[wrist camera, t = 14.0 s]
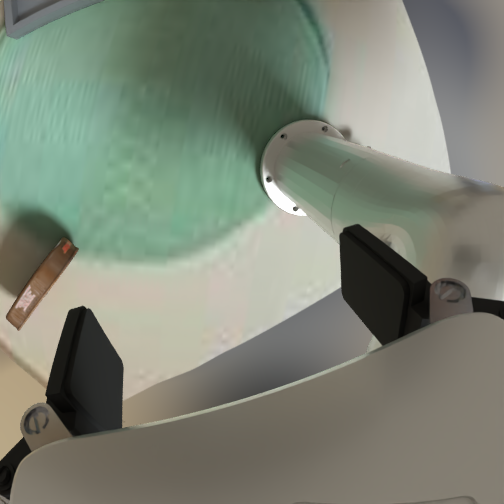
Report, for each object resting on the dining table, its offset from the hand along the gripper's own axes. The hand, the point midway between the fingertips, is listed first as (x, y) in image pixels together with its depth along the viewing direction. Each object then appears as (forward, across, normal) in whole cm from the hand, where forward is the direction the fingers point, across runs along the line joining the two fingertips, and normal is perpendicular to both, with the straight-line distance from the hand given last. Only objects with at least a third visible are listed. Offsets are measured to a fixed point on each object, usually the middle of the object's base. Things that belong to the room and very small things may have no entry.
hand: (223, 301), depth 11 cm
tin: (+29, +22, +8) cm, 37 cm away
